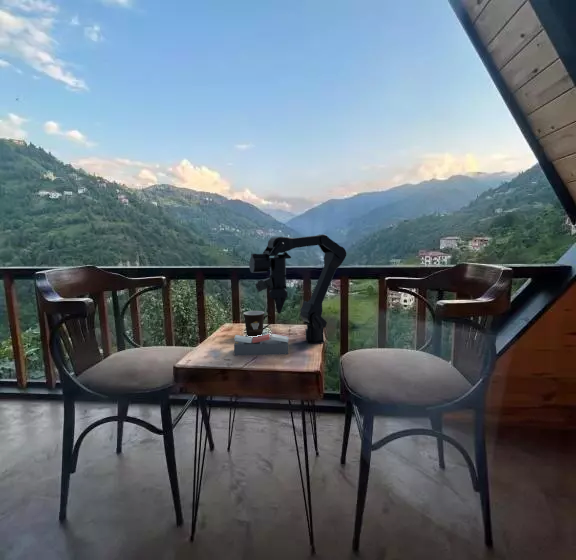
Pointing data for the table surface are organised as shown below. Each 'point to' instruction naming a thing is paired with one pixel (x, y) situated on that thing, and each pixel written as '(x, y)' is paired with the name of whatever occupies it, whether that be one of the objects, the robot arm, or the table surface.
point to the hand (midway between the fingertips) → (279, 312)
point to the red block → (260, 338)
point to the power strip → (261, 348)
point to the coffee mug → (255, 322)
